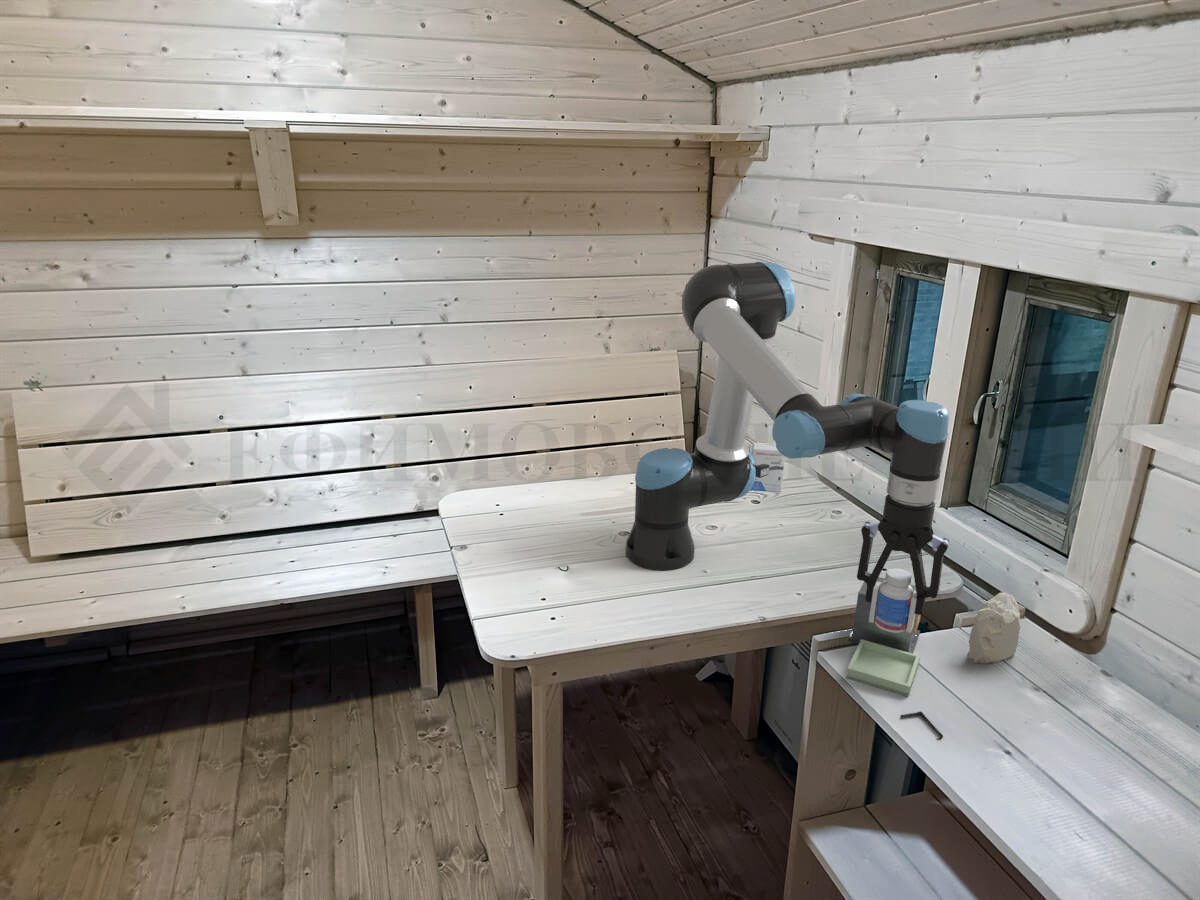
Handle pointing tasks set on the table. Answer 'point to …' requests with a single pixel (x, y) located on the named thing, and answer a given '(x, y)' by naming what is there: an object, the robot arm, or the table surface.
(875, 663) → the tray
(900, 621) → the pill bottle
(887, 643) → the unit
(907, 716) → the l-shaped bracket
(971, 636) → the stone
